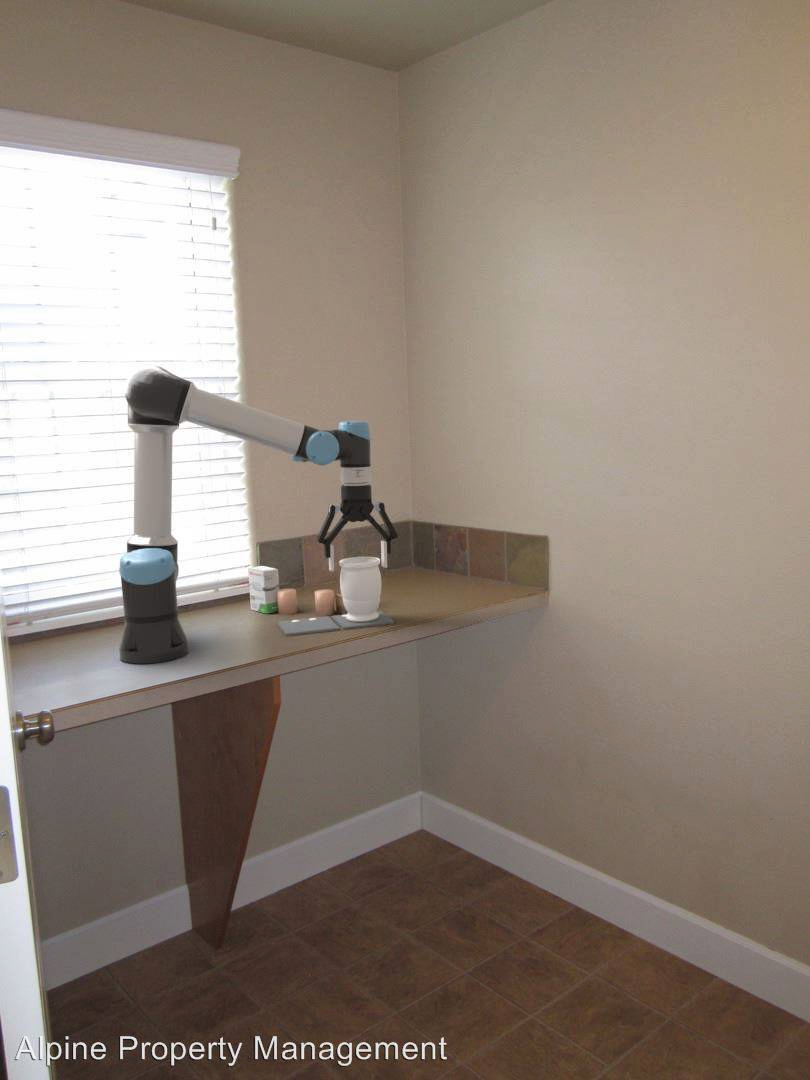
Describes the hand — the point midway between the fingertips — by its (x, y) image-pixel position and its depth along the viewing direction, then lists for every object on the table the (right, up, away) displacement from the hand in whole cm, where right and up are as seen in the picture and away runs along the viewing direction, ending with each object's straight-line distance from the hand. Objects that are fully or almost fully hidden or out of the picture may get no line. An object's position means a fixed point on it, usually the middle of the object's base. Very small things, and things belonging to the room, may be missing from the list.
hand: (358, 568), depth 222 cm
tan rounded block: (-20, -12, +15) cm, 28 cm away
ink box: (-26, -12, +19) cm, 34 cm away
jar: (+1, -13, +2) cm, 13 cm away
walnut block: (-3, -12, +12) cm, 17 cm away
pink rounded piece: (-9, -12, +12) cm, 20 cm away
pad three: (+1, -13, +2) cm, 13 cm away
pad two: (-12, -14, -2) cm, 19 cm away
